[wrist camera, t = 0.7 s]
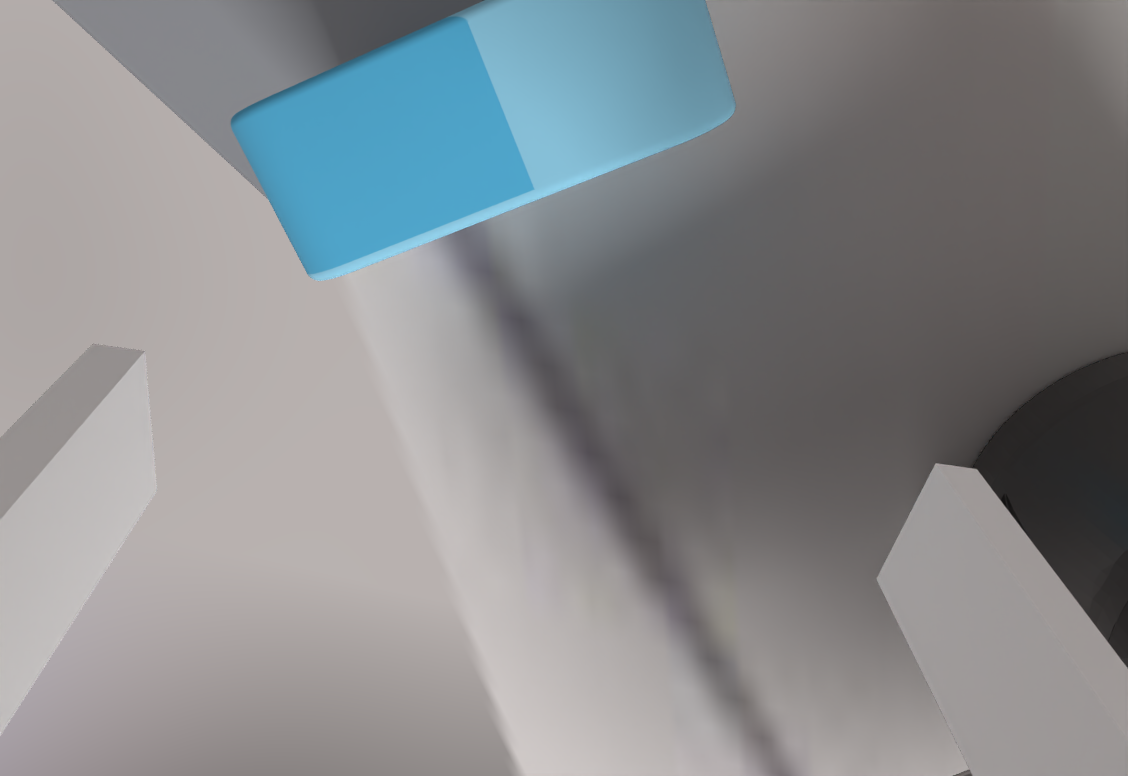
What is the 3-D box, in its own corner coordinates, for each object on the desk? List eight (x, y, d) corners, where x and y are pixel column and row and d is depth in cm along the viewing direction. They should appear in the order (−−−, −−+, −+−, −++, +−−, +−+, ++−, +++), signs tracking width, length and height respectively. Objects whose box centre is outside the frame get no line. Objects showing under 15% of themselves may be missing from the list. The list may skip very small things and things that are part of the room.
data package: (656, -45, 28) (687, -92, 17) (697, 86, 30) (748, 119, 19) (349, 90, 30) (202, 125, 20) (402, 205, 32) (294, 296, 21)
